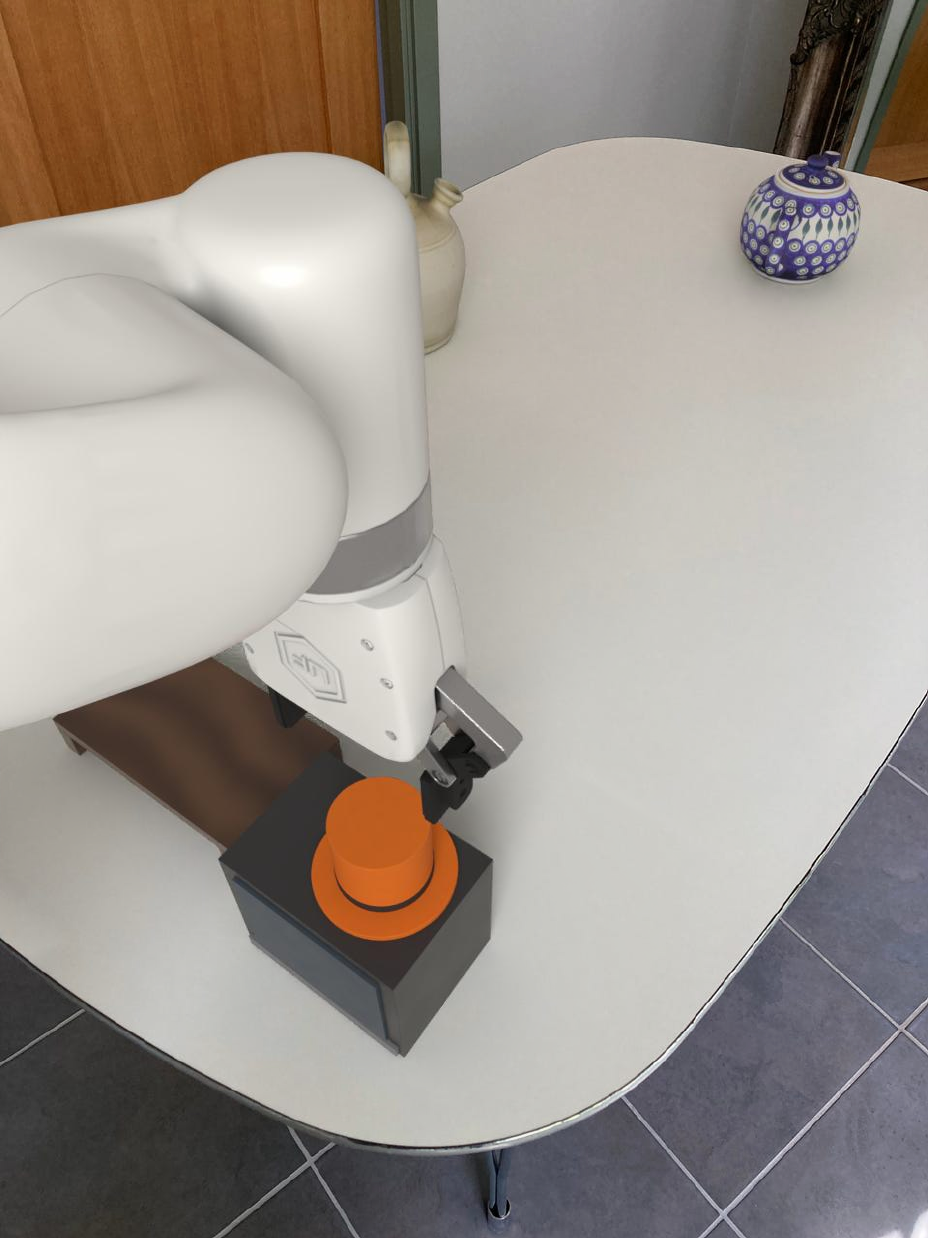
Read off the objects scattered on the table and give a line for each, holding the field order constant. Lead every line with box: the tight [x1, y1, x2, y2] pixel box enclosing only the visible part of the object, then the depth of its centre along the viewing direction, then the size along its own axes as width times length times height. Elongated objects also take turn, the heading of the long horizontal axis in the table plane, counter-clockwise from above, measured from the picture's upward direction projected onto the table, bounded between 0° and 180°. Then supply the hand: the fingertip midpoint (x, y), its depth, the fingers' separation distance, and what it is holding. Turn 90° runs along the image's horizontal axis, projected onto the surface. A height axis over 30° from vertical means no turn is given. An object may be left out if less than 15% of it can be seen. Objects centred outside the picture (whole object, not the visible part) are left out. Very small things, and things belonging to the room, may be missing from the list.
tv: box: [217, 750, 494, 1058], centre depth 64 cm, size 10×14×12 cm
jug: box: [383, 120, 467, 355], centre depth 112 cm, size 15×16×25 cm
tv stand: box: [52, 656, 345, 856], centre depth 77 cm, size 12×20×4 cm, turn 54°
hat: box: [311, 776, 458, 941], centre depth 57 cm, size 9×9×6 cm
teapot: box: [739, 150, 862, 285], centre depth 126 cm, size 25×15×15 cm, turn 148°
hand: (372, 753), depth 50 cm, fingers open, 9 cm apart
